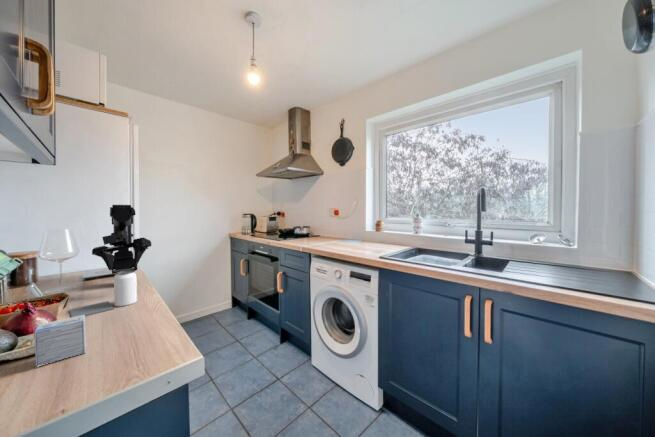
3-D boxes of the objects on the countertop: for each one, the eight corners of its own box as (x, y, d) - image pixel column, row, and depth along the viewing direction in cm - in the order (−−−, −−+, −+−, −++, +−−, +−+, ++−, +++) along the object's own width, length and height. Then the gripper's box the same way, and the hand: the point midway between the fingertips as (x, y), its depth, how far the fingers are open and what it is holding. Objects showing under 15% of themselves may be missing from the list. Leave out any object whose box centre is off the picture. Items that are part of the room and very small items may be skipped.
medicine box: (86, 346, 61) (85, 313, 61) (85, 353, 58) (84, 319, 58) (39, 359, 56) (37, 324, 55) (35, 369, 52) (33, 331, 52)
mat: (69, 310, 82) (69, 309, 82) (108, 302, 90) (108, 301, 90) (72, 319, 76) (72, 318, 76) (113, 309, 84) (113, 308, 83)
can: (141, 300, 91) (140, 270, 91) (125, 307, 85) (124, 274, 84) (126, 299, 92) (125, 269, 92) (109, 306, 86) (108, 274, 85)
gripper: (80, 231, 90) (79, 270, 86) (135, 220, 95) (137, 257, 90) (102, 238, 101) (102, 274, 96) (151, 228, 105) (153, 262, 100)
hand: (123, 267), depth 95 cm, fingers open, 9 cm apart
